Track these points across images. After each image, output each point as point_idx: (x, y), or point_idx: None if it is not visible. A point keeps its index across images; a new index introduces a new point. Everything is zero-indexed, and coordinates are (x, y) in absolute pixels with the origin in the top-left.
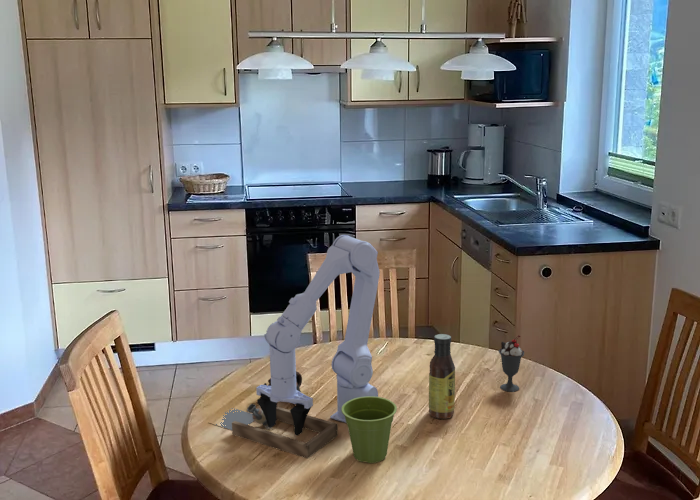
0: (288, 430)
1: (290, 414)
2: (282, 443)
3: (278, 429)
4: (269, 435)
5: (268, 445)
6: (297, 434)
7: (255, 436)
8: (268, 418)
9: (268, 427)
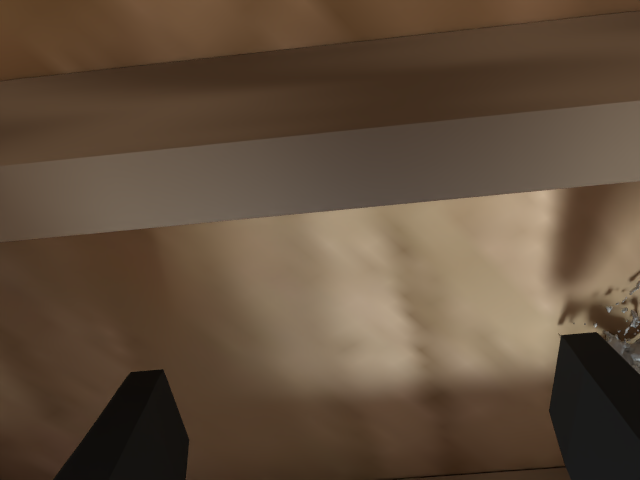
0: (403, 406)
1: None
2: (41, 118)
3: (509, 373)
4: (317, 120)
5: (343, 45)
6: (121, 387)
7: (635, 43)
8: (635, 439)
9: (629, 345)
